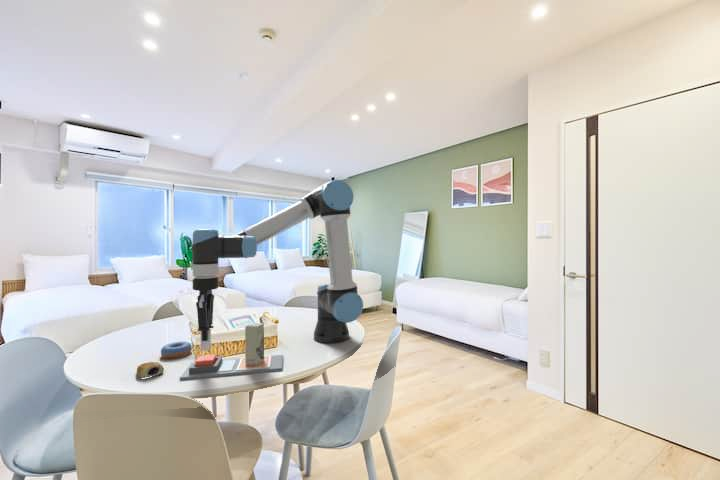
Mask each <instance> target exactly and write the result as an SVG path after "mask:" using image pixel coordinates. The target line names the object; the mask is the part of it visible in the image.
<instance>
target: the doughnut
mask: <svg viewBox="0 0 720 480" xmlns="http://www.w3.org/2000/svg"><path fill="white" fill-rule="evenodd" d="M192 350H193V346H192V344H191V343H190V342H188V341H175V342H170V343H167V344H165V345H164V346H163V347H161V349H160V356H161V357H162V358H164V359H166V360H167V359H170V360H173V359H179V358H183V357H185V356H188V355H189V354H190V353H191V352H192Z"/></svg>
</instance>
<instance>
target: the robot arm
mask: <svg viewBox="0 0 720 480" xmlns="http://www.w3.org/2000/svg"><path fill="white" fill-rule="evenodd" d="M353 202H354V191H353V190H352V188H351V186H350V185H349V183H347V182H346V181H344V180H342V179H333V180H328V181H326V182H325V183H323V184H320V185H319V186H317V187H316V188H314V189H313V190H312V191H311V192H309V193H308V194H305V195H304V196H302V197H301V198H299V202H296V203H294V204H292V205H290V206H288V207H286V208H284V209H283V210H281V211H278V212H277V213H275V214H273V215H271V216H269V217H267V218H265V219H263V220H261V221H259V222H258V223H255V224H254V225H251V226H249V227H247V228H245V229H244V230H242V231H240V232H238V233H236V234H234V235H220V233H219V230H218V229H207V228H205V229H202V228H201V229H200V228H199V229H195V230H194V231H193V232H192V244H191V245H192V246H191V247H192V250H191V251H192V267H191V268H190V270H192V276H193V279H192V290H194V291H199V293H198V296H197V301H196V302H195V305H196V310H197V323H198V324H197V325H198V329H197V332H200V351H201V352H202V351H203V352H204V351H206V352H207V351H211V350H212V329H214V325H213V323H214V322H213V319H214V302H215V301H214V299H215V295H214V293H213V290H217V289H218V288H219V278H218V276H219V272H220V271H219V269H220V268H219V259H248V258H249V259H250V258H255V257H256V256H257V252H258V251H257V250H258V246H259V245H261V244H263V243H265V242H267V241H269V240H270V239H272V238H274V237H276V236H278V235H280V234H282V233H284V232H286V231H287V230H288V229H291V228H293V227H294V226H297V225H298V224H301V223H302V222H303V221H305V220H308V219H311V220H312V219H314V218H316V217H319V216H320V218H321V220H323V222H324V225H325V226H324V227H325V236H326V248H327V257H328V270H329V280H330V282H329V284H328V283H325V284H320V285H318V287H317V292H316V294H317V321H316V325H315V328H314V331H313V340H314V341H316V342H318V343H325V344H335V342H337V343H342V342H345V341H347V340H349V339H350V331H349V328H348V326H347V323H352V322H355V321H356V320H357V319H359V317H360V316H361V315H362V312H363V311H364V301H363V299H362V297H361V296H360V294H358V285H357V283H356V282H355V281H353V272H352V260H351V251H350V238H349V237H350V236H349V228H348V227H349V226H348V218H349V217H350V216H351V206H352V204H353ZM346 339H347V340H346ZM344 340H345V341H344ZM341 341H342V342H341Z"/></svg>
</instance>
